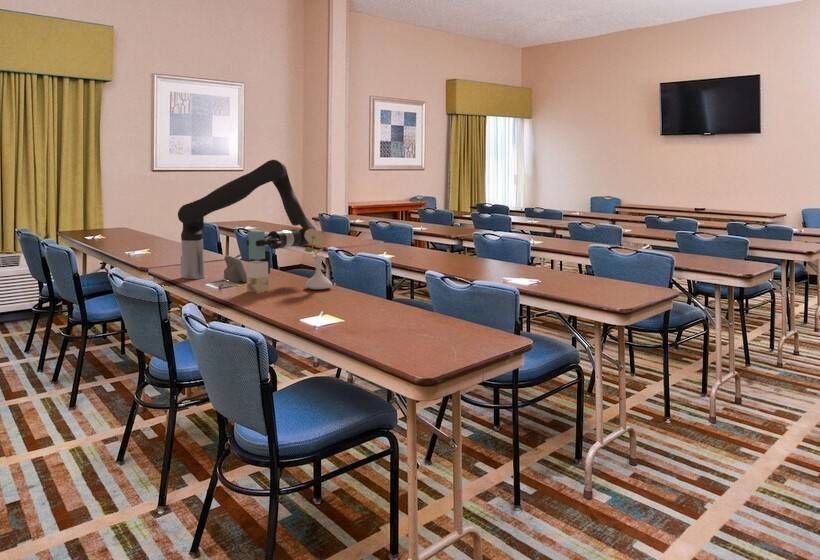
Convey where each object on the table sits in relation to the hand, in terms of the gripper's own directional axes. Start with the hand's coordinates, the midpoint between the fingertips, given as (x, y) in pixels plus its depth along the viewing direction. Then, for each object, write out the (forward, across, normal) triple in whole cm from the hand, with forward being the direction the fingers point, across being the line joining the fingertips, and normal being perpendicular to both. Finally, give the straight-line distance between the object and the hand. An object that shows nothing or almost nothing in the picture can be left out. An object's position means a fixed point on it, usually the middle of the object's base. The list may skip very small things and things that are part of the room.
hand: (252, 243), depth 260 cm
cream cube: (-3, 0, +14) cm, 14 cm away
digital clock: (-16, -25, +20) cm, 36 cm away
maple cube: (-3, 0, +20) cm, 20 cm away
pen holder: (-37, -30, +20) cm, 52 cm away
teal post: (-3, 0, +6) cm, 7 cm away
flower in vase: (-21, +16, +20) cm, 33 cm away
